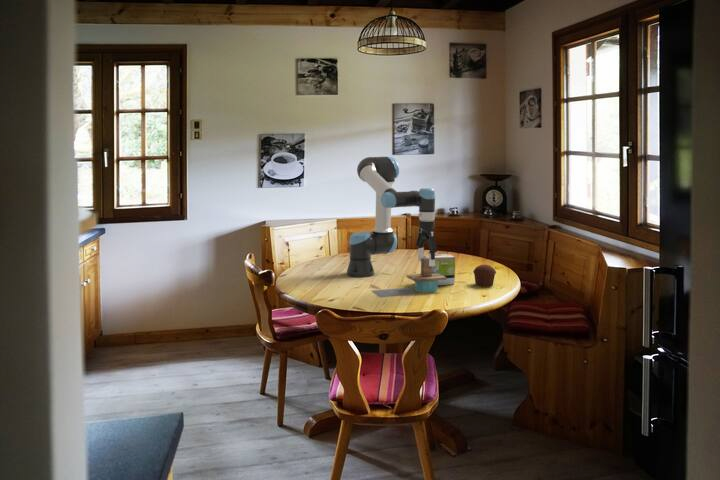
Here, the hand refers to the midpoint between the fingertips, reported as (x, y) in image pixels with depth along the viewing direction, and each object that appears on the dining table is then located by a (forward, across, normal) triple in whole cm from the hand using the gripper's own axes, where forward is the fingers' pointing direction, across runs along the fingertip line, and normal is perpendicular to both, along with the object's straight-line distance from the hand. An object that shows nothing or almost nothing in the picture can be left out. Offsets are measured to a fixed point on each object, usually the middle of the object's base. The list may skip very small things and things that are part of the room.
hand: (426, 263), depth 295 cm
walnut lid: (+7, 0, 0) cm, 7 cm away
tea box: (+14, -12, +12) cm, 21 cm away
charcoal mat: (+13, 0, -16) cm, 21 cm away
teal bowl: (+13, 0, 0) cm, 13 cm away
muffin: (+14, -2, +33) cm, 36 cm away
